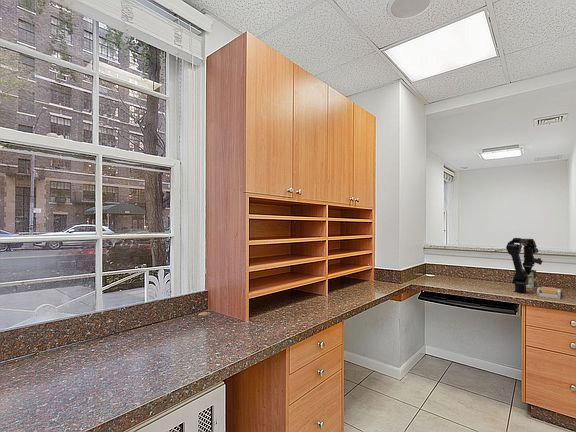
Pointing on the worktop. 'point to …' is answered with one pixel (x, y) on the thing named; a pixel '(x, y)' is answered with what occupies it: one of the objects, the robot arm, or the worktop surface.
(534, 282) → the coffee can
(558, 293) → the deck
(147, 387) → the worktop surface
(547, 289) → the orange stepped block
